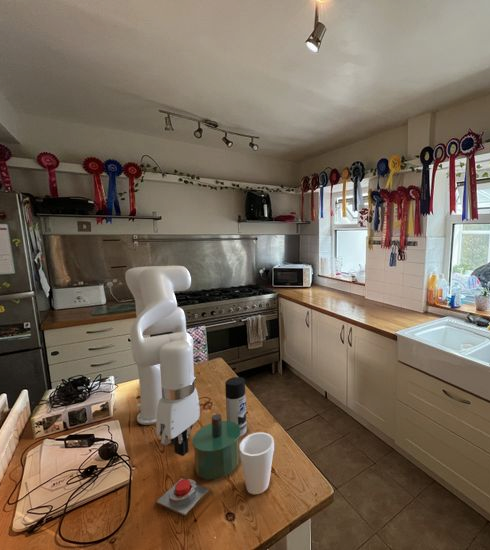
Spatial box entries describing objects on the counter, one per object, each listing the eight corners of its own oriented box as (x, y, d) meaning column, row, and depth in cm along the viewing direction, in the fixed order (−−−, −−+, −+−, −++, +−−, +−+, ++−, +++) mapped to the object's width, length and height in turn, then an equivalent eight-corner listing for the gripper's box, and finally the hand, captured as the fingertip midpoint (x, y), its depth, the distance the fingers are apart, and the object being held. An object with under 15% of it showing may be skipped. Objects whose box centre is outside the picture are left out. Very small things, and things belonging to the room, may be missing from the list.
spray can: (240, 440, 101) (239, 386, 98) (223, 437, 102) (221, 384, 99) (249, 428, 107) (248, 377, 105) (233, 425, 109) (231, 375, 106)
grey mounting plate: (156, 505, 76) (155, 495, 76) (181, 481, 84) (181, 472, 83) (185, 518, 73) (184, 508, 72) (209, 492, 80) (208, 483, 80)
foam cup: (256, 505, 77) (255, 461, 75) (233, 489, 81) (232, 447, 80) (281, 480, 85) (280, 439, 83) (258, 467, 89) (258, 428, 88)
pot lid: (181, 447, 85) (180, 424, 84) (215, 419, 98) (214, 400, 97) (219, 460, 80) (218, 436, 79) (249, 429, 93) (249, 409, 92)
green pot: (185, 473, 87) (184, 444, 85) (216, 445, 98) (215, 419, 97) (219, 486, 82) (218, 456, 81) (247, 455, 94) (246, 428, 93)
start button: (172, 493, 77) (171, 487, 77) (183, 483, 80) (183, 477, 80) (182, 498, 76) (182, 492, 75) (193, 487, 79) (193, 481, 79)
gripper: (190, 373, 84) (193, 431, 86) (140, 401, 70) (145, 469, 72) (211, 378, 81) (213, 438, 84) (163, 408, 67) (167, 478, 70)
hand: (181, 452), depth 78 cm, fingers closed
